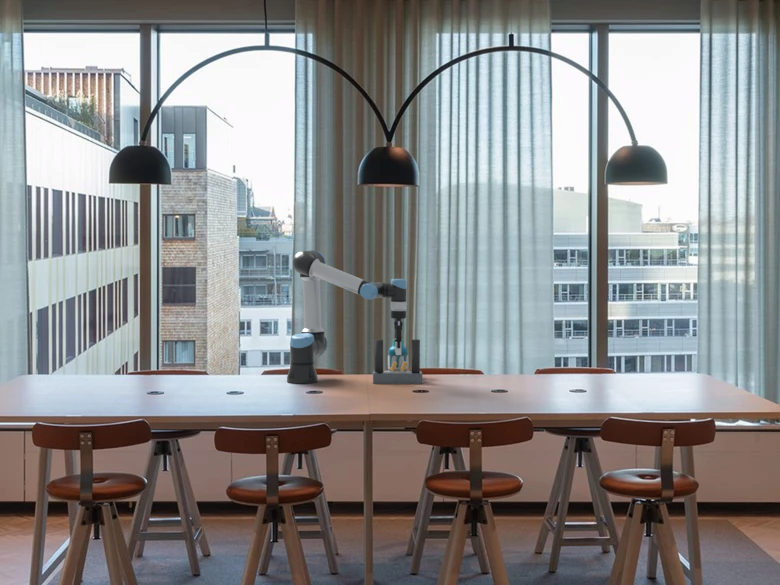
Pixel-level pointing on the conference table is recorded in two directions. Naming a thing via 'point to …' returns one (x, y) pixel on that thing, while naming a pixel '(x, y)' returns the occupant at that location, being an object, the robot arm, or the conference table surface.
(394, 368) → the paddle
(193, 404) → the conference table surface
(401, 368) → the paddle
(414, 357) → the post right
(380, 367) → the post left
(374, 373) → the gray rectangular base
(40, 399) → the conference table surface
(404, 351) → the vase
